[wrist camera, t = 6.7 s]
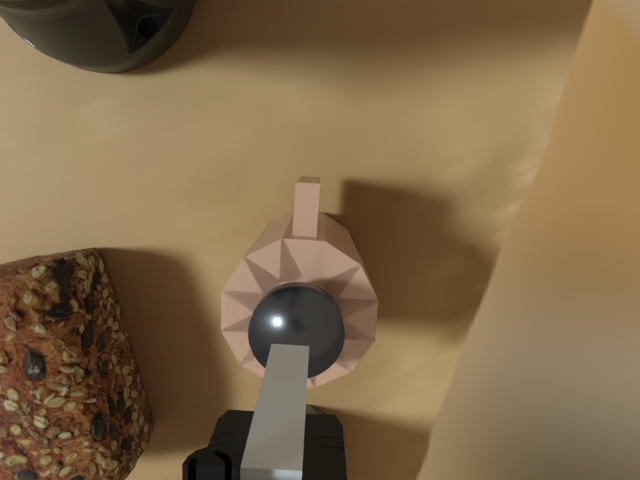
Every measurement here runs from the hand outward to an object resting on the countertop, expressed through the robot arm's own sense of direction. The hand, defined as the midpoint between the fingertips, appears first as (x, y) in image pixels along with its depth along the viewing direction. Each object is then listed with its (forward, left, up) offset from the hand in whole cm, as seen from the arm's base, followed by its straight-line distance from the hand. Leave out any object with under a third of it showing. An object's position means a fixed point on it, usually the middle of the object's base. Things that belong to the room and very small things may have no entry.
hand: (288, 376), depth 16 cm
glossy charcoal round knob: (0, 0, -16) cm, 16 cm away
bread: (-20, -10, -20) cm, 30 cm away
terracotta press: (0, +1, -19) cm, 19 cm away
